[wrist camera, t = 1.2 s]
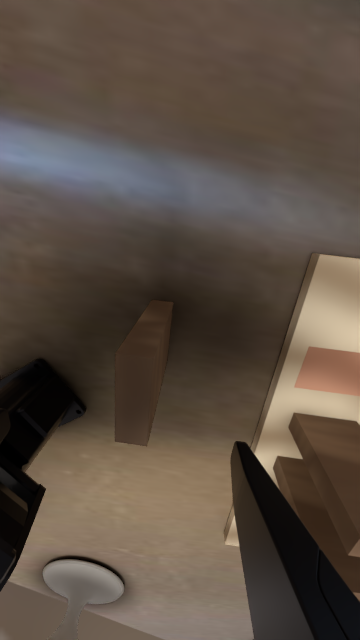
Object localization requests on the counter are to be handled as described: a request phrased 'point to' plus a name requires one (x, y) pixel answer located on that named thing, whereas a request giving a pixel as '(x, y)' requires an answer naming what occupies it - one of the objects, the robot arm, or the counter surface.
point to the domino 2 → (333, 469)
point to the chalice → (80, 590)
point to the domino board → (313, 362)
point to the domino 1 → (141, 373)
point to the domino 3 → (316, 517)
